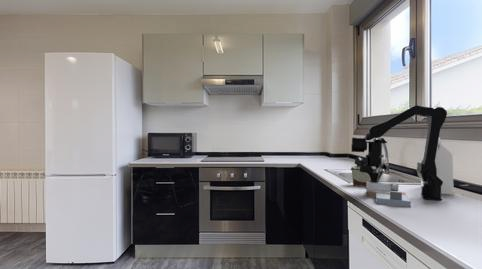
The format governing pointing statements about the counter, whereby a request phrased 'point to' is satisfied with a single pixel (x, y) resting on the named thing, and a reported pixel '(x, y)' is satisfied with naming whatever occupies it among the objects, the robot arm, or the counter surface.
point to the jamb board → (373, 193)
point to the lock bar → (381, 186)
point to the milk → (444, 168)
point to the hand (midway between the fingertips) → (374, 186)
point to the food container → (359, 177)
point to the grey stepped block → (393, 199)
